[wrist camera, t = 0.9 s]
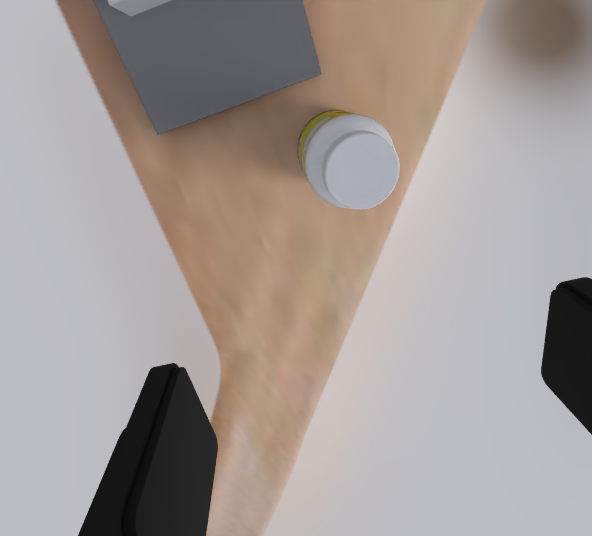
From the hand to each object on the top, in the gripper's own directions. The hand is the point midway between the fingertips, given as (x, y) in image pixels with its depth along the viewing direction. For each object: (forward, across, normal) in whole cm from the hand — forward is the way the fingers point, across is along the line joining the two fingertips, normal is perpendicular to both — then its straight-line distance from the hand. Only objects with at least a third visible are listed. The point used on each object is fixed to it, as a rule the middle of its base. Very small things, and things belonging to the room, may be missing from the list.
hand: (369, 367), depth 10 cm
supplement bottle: (+22, -3, -2) cm, 22 cm away
